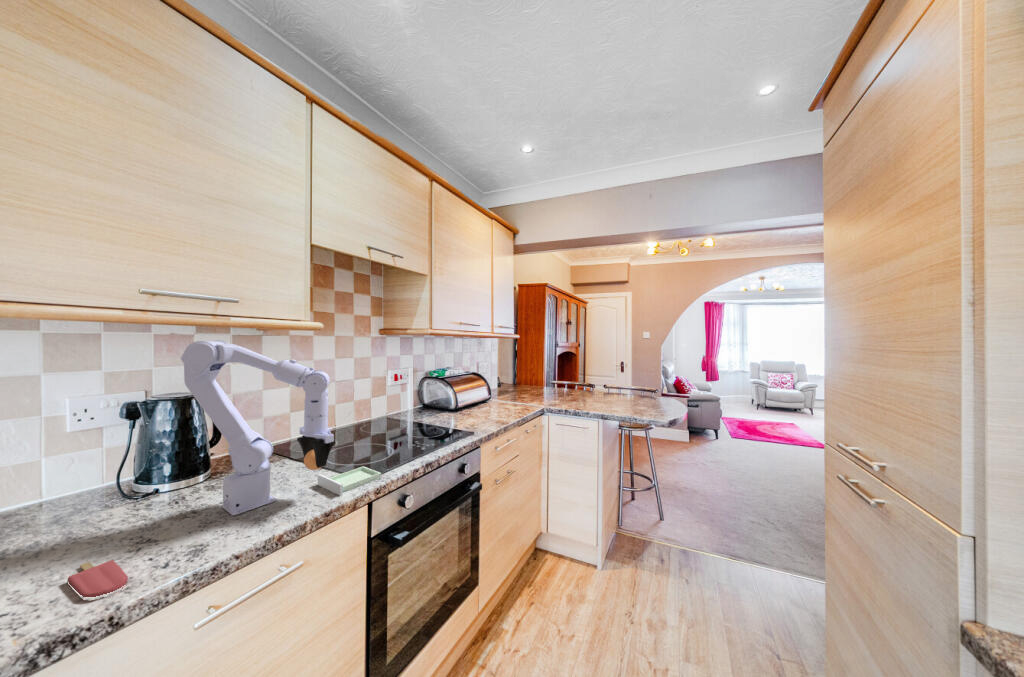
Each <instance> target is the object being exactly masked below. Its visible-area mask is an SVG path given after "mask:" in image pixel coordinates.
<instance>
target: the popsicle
mask: <svg viewBox="0 0 1024 677" xmlns="http://www.w3.org/2000/svg"><path fill="white" fill-rule="evenodd" d="M79 568H80V569H81V570H82V571H80V572H77V573H74V574H72V575H69V576H68V578H67V583H68V582H69V584H70V585H71V586H72V587H73V588H74V589H75V590H76V591H77V592H78V593H79V594H80V595H82V596H83V597H96V596H100V595H103V594H107V593H110V592H113V591H115V590H117V589H119V588H121V587H122V586H124V585H125V584H126V583H127V584H128V582H127V580H128V579H129V578H128V575H127V574H126V573H125V572H124V570H123V569H122V568H121V567H120V566H119V565H118V564H117V562H116V561H114V559H112V560H108V561H105V562H103V563H101V564H97V565H96V566H93V564H92V563H91V562H84V563H81V564H80V565H79ZM128 581H129V580H128ZM127 584H126V585H127Z"/></svg>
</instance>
